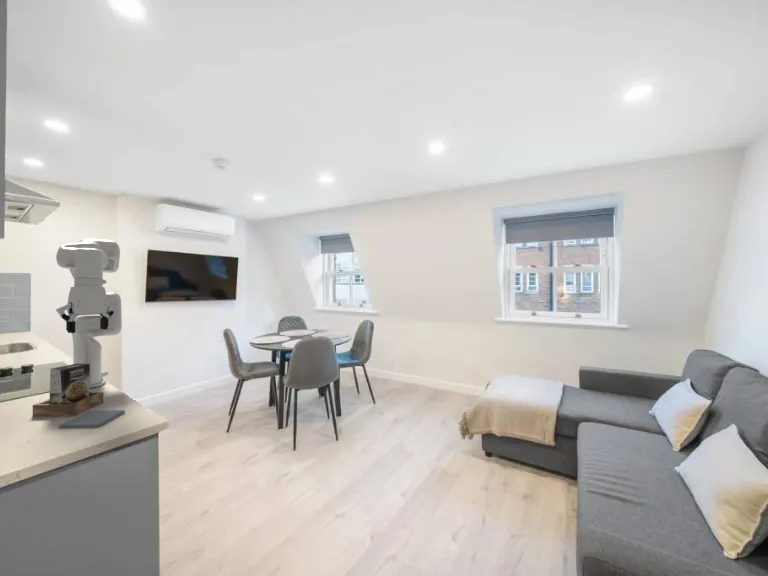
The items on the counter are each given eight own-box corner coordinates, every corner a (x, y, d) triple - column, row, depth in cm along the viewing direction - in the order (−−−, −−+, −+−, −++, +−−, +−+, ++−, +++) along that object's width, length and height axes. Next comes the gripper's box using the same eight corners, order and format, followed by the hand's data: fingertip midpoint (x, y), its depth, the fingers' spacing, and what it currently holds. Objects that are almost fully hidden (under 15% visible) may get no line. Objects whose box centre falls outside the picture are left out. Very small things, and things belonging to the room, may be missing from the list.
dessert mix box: (62, 414, 116) (62, 369, 116) (48, 413, 117) (48, 368, 117) (90, 405, 125) (90, 363, 125) (76, 403, 126) (77, 362, 126)
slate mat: (89, 413, 118) (89, 410, 118) (124, 412, 119) (124, 410, 119) (58, 427, 106) (58, 424, 106) (98, 427, 107) (98, 424, 107)
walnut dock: (67, 402, 127) (67, 392, 127) (103, 402, 128) (103, 392, 128) (32, 416, 114) (32, 405, 114) (73, 416, 115) (73, 405, 115)
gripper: (109, 283, 126) (109, 327, 126) (50, 282, 109) (50, 333, 110) (122, 283, 123) (121, 328, 123) (64, 283, 107) (63, 335, 107)
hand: (88, 330), depth 117 cm, fingers open, 9 cm apart
